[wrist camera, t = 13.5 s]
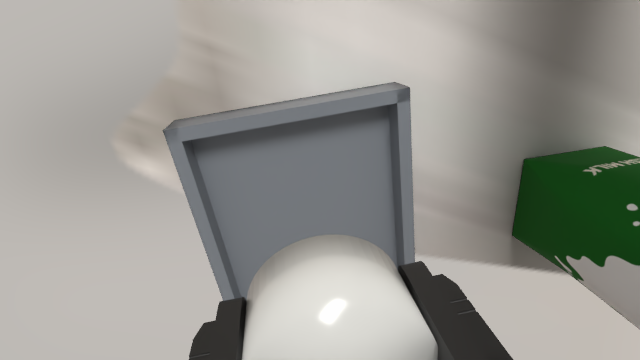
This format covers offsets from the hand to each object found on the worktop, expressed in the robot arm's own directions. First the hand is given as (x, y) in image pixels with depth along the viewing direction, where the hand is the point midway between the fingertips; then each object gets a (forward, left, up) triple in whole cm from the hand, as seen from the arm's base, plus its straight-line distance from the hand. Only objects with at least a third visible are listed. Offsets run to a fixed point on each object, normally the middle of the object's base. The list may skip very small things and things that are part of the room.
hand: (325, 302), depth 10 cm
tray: (+4, 0, -14) cm, 14 cm away
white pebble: (0, 0, 0) cm, 0 cm away
